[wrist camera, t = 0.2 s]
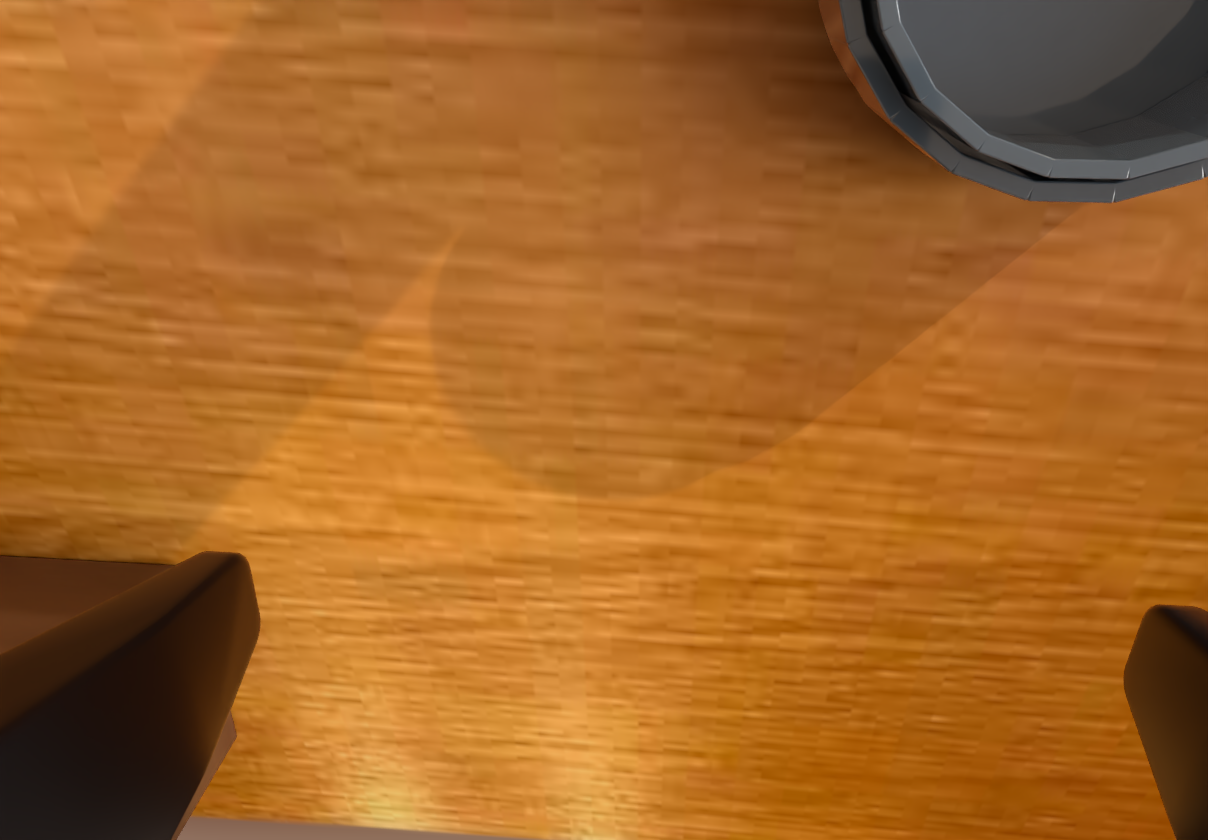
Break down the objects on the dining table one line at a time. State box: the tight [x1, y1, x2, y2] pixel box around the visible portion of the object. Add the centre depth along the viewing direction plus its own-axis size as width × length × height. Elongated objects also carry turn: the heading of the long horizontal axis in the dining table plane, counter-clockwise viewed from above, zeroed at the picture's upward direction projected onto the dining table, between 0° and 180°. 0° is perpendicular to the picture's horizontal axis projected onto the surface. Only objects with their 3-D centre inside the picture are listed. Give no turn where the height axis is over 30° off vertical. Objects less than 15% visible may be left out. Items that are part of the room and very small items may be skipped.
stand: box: [0, 556, 237, 840], centre depth 24 cm, size 7×7×9 cm
